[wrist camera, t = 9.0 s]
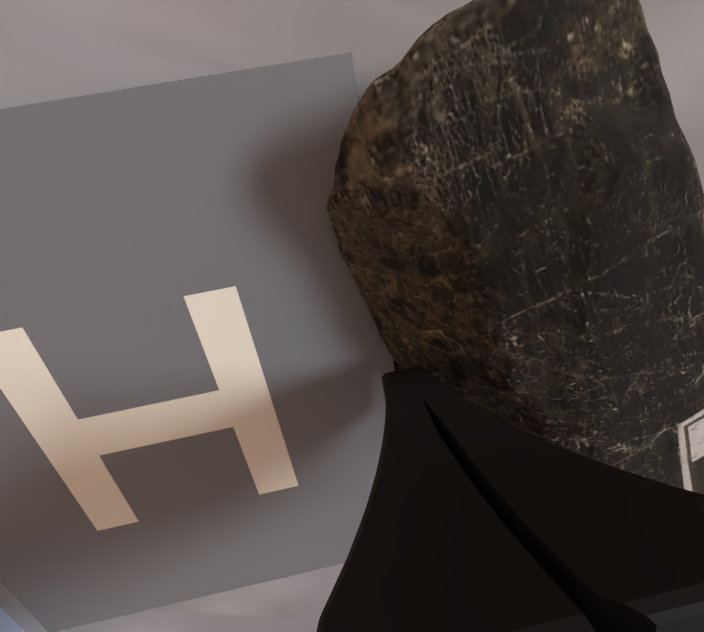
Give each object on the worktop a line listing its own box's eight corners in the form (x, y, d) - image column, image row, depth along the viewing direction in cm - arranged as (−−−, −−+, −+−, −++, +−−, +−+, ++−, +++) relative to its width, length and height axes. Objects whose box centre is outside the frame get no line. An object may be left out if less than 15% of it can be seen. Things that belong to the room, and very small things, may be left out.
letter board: (416, 536, 15) (418, 545, 15) (56, 621, 14) (49, 633, 14) (349, 58, 8) (351, 52, 8) (-344, 171, 7) (-381, 170, 7)
